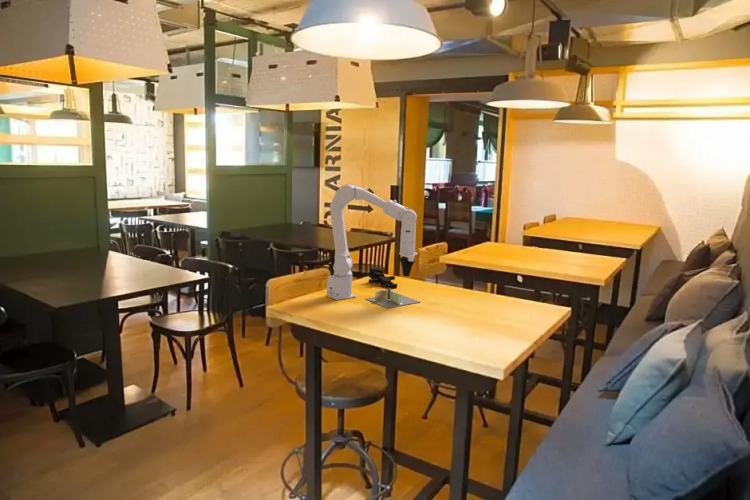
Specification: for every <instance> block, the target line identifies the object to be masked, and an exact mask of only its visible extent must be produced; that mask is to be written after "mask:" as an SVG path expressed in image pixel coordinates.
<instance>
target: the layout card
mask: <svg viewBox="0 0 750 500" xmlns="http://www.w3.org/2000/svg"><path fill="white" fill-rule="evenodd" d="M365 300H366V301H369V302H370V303H374V304H376V305H379V306H380V307H383V308H385V309H392V308H397V307H403V305H404V306H408V305H413V304H414V305H415V304H420V303H421V301H419V300H417V299H413V298H411V297H409V296H405V295H403V294H401V301H400V304H397V303H395V302H393V301H391V300H390V299H388V300H382V301H375V296H373V297H366V298H365Z"/></svg>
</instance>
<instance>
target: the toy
mask: <svg viewBox="0 0 750 500" xmlns="http://www.w3.org/2000/svg"><path fill="white" fill-rule="evenodd" d="M368 278H370V279H368V283H369V284H373V283H374V284H380V286H382V287H386V288H387V289H388V288H391V290H393V289H394V288H395V289H397V288H398V283H394V282H393V281H394V280H396V276H394V275H391V276H387V275H385V273H384V271H383V269H381V268H380V267H378V266H377V267H370V268H369V273H368Z"/></svg>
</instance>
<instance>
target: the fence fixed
mask: <svg viewBox="0 0 750 500" xmlns="http://www.w3.org/2000/svg"><path fill="white" fill-rule="evenodd" d="M390 290H392V289H391V288H387V289H380V290H375V296H374V297H375V301H382V300H388V299H390V298H389V293H390Z"/></svg>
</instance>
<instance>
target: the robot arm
mask: <svg viewBox="0 0 750 500" xmlns="http://www.w3.org/2000/svg"><path fill="white" fill-rule="evenodd" d="M353 200H355V201H361V200H362V201H365V202H368V203H370V204H372V205H374V206H376V207H378V208H380V209H382V212H383V214H385V215H387V216H389V217H390V218H393V219H394V220H395V221H400V222H401V228H400V243H399V253H398V254H399V255H400V257H398V259H399V262H400V264H401V271H402V275H403V277H410V275H411V271H412V267H413V265H414V264H415V261H416V259H415V256H418V254H419V253H418V252H416V237H417V236H416V235H417V234H416V233H417V232H416V231H417V230H416V227H417V220H418V219H417V218H418V216H417V213H416V211H414V210H413V209H412V208H409V207H408V206H403V205H401V204H400V203H397V202H398V201H397V200H396V199H394V200H392V199H389V200H385V199H383V198H381V197H380V196H377V195H376V194H374V193H372V192H370V191H369V190H367V189H365V188H363V187H361V186H358V185H355V184H353V183H347V184H344V185H341V186H339V188H338V189H337V190H336V191H335V194H334V196H333V198H332V200H331V202H330V204H329V212H330V218H331V226H332V236H333V243H334V251H335V252H334V264H333V266H332V269H333V274H332V275H329V276H328V278H327V280H326V294H325V296H327V297H329V298H331V299H334V300H335V301H338V300H339V301H340V300H346V299H351V298H356V297H357V295H355V294H353V292H352V290H353V272H352V270H351V269H352V268H353V267H354V262H353V261H354V260H353V259H352V257H351V255H350V250H349V248H348V247H349V246H348V241H347V231H346V224H345V216H344V208H346V206H347V205H348V204H349V203H350V202H351V201H353ZM401 256H402V257H401Z"/></svg>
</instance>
